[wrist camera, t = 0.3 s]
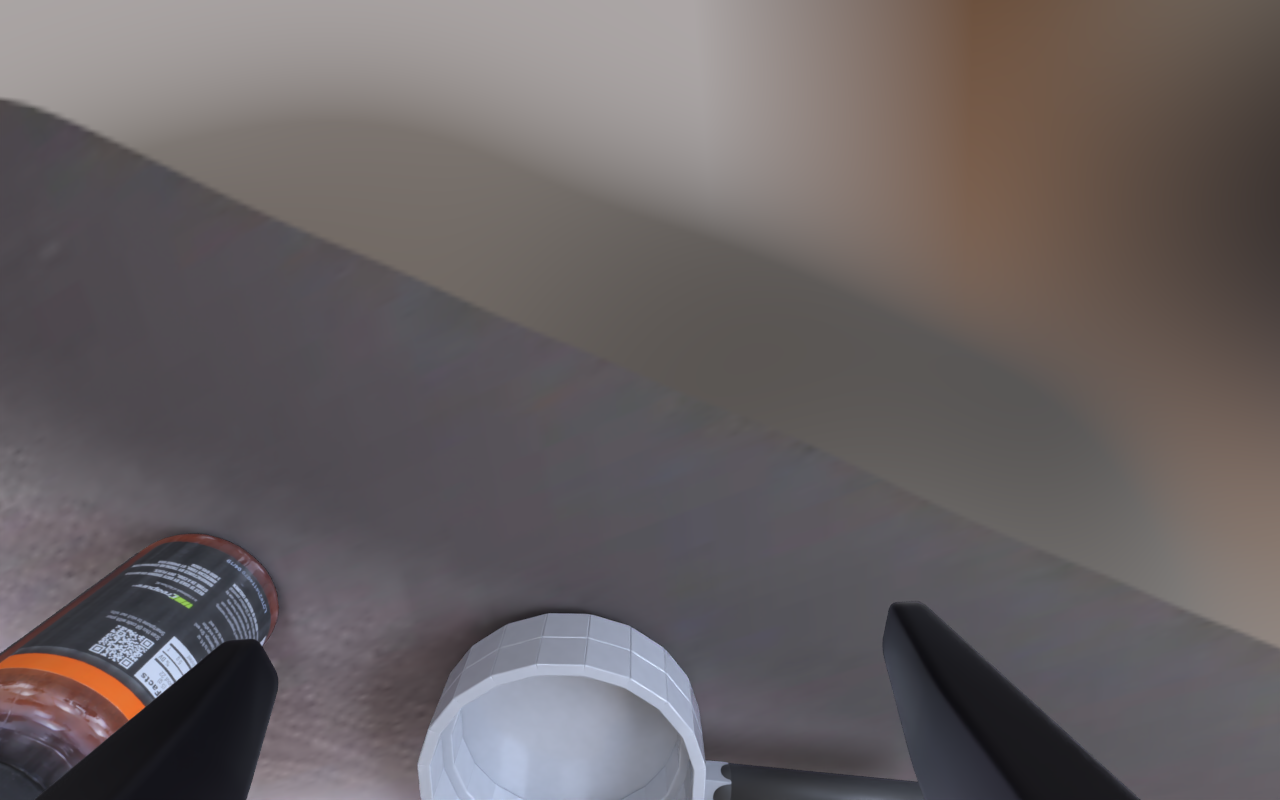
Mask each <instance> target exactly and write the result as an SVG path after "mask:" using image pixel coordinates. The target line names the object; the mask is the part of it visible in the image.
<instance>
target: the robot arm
mask: <svg viewBox="0 0 1280 800" xmlns="http://www.w3.org/2000/svg"><path fill="white" fill-rule="evenodd" d="M883 654H884V659H885V663H886V667H887V671H888V674H889V678H890V682H891V686H892V690H893V694H894V697H895V701H896V705H897V709H898V713H899V716H900V720H901V724H902V728H903V732H904V736H905V739H906V743H907V747H908V751H909V754H910V758H911V761H912V765H913V768H914V771H915V774H916V777H917V779H918V782H919V785H920V788H921V790H922V793H923V796H924V798H925V800H1140V799H1139V798H1138V797H1137V796H1136V795H1135V794H1134V793H1133V792H1131V791H1130V790H1129V789H1128V788H1127V787H1126V786H1125V785H1124V784H1123V783H1122V782H1120V781H1119V780H1118V779H1117V778H1116V777H1115V776H1114V775H1113V774H1112V773H1110V772H1109V771H1108V770H1107V769H1106V768H1105V767H1104V766H1103V765H1102V764H1101V763H1099V762H1098V761H1097V760H1096V759H1095V758H1094V757H1093V756H1092V755H1091V754H1090V753H1088V752H1087V751H1086V750H1085V749H1084V748H1083V747H1082V746H1081V745H1080V744H1078V743H1077V742H1076V741H1075V740H1074V739H1073V738H1072V737H1071V736H1070V735H1069V734H1067V733H1066V732H1065V731H1064V730H1063V729H1062V728H1061V727H1060V726H1059V725H1058V724H1056V723H1055V722H1054V721H1053V720H1052V719H1051V718H1050V717H1049V716H1048V715H1046V714H1045V713H1044V712H1043V711H1042V710H1041V709H1040V708H1039V707H1038V706H1037V705H1035V704H1034V703H1033V702H1032V701H1031V700H1030V699H1029V698H1028V697H1027V696H1026V695H1024V694H1023V693H1022V692H1021V691H1020V690H1019V689H1018V688H1017V687H1016V686H1014V685H1013V684H1012V683H1011V682H1010V681H1009V680H1008V679H1007V678H1006V677H1005V676H1003V675H1002V674H1001V673H1000V672H999V671H998V670H997V669H996V668H995V667H993V666H992V665H991V664H990V663H989V662H988V661H987V660H986V659H985V658H984V657H982V656H981V655H980V654H979V653H978V652H977V651H976V650H975V649H974V648H973V647H971V646H970V645H969V644H968V643H967V642H966V641H965V640H964V639H963V638H961V637H960V636H959V635H958V634H957V633H956V632H955V631H954V630H953V629H952V628H950V627H949V626H948V625H947V624H946V623H945V622H944V621H943V620H942V619H941V618H939V617H938V616H937V615H936V614H935V613H934V612H933V611H932V610H931V609H929V608H928V607H927V606H926V605H925V604H923V603H921V602H917V601H911V602H896V603H893V604H892V605H891V606H890V608H889V611H888V616H887V621H886V626H885V631H884V636H883ZM277 690H278V676H277V672H276V670H275V669H274V667H273V665H272V663H271V661H270V659H269V658H268V656H267V654H266V652H265V650H264V649H263V647H262V645H261V644H260V642H259V641H257V640H255V639H238V640H229V641H226V642H224V643H222V644H221V645H219V646H218V647H217V648H215V649H214V650H213V651H212V652H211V653H209V654H208V655H207V656H206V657H205V658H203V659H202V660H201V661H200V662H199V663H197V664H196V665H195V666H194V667H193V668H191V669H190V670H189V671H188V672H187V673H185V674H184V675H183V676H182V677H181V678H179V679H178V680H177V681H176V682H175V683H173V684H172V685H171V686H170V687H169V688H167V689H166V690H165V691H164V692H163V693H161V694H160V695H159V696H158V697H157V698H155V699H154V700H153V701H152V702H151V703H149V704H148V705H147V706H146V707H145V708H143V709H142V710H141V711H140V712H139V713H137V714H136V715H135V716H134V717H133V718H131V719H130V720H129V721H128V722H127V723H125V724H124V725H123V726H122V727H121V728H119V729H118V730H117V731H116V732H115V733H113V734H112V735H111V736H110V737H109V738H107V739H106V740H105V741H104V742H103V743H101V744H100V745H99V746H98V747H97V748H95V749H94V750H93V751H92V752H91V753H89V754H88V755H87V756H86V757H85V758H83V759H82V760H81V761H80V762H79V763H77V764H76V765H75V766H74V767H73V768H71V769H70V770H69V771H68V772H67V773H65V774H64V775H63V776H62V777H61V778H59V779H58V780H57V781H56V782H55V783H53V784H52V785H51V786H50V787H49V788H47V789H46V790H45V791H44V792H42V793H41V794H40V795H39V796H38V797H36V798H35V799H34V800H246V798H247V795H248V792H249V789H250V786H251V783H252V779H253V776H254V772H255V769H256V765H257V761H258V758H259V754H260V751H261V747H262V744H263V740H264V737H265V733H266V730H267V726H268V723H269V719H270V716H271V712H272V708H273V705H274V701H275V698H276V694H277Z"/></svg>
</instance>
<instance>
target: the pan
mask: <svg viewBox="0 0 1280 800" xmlns="http://www.w3.org/2000/svg"><path fill="white" fill-rule="evenodd" d="M689 759H690V762H691V771H692V792H691V800H704V798H705V782H706V762H705V754H704V745H703V737H702V729H701V720H700V712H699V707H698V704H697V701H696V699H695V696H694V693H693V690H692V687H691V684H690V681H689V679H688V677H687V675H686V674H685V673H684V672H683V670H682V669H681V668H680V667H679V665H678V664H677V663H676V662H675V660H674V659H673V658H672V657H671V656H670V654H669V653H668V652H667V651H666V650H665V649H664V648H663V647H662V646H660V645H659V644H657V643H656V642H654V641H653V640H651V639H650V638H648V637H646V636H645V635H643V634H642V633H640V632H639V631H637V630H636V629H634V628H633V627H630V626H629V625H626V624H622V623H619V622H616V621H612V620H609V619H605V618H602V617H599V616H595V615H592V614H591V615H590V614H566V613H548V614H543V615H539V616H535V617H531V618H528V619H524V620H520V621H516V622H513V623H509V624H507V625H505V626H503V627H501V628H500V629H498V630H497V631H495V632H493V633H492V634H490V635H489V636H487V637H485V638H484V639H482V640H481V641H479V642H477V643H476V644H474V645H473V646H472V647H471V648H470V649H469V650H468V652H467V653H466V654H465V655H464V657H463V658H462V659H461V660H460V662H459V663H458V664H457V665H456V666H455V668H454V669H453V670H452V671H451V673H450V675H449V677H448V680H447V682H446V685H445V687H444V690H443V692H442V695H441V697H440V700H439V702H438V705H437V708H436V710H435V713H434V715H433V718H432V720H431V723H430V725H429V728H428V731H427V734H426V737H425V740H424V743H423V746H422V750H421V753H420V756H419V759H418V764H417V767H418V778H419V788H420V798H421V800H685V789H684V784H685V778H686V773H687V768H688V762H689Z"/></svg>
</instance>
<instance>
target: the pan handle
mask: <svg viewBox="0 0 1280 800" xmlns="http://www.w3.org/2000/svg"><path fill="white" fill-rule="evenodd" d="M705 762H706V782H705V798H704V800H925V798H924V796H923V793H922V790H921V788H920V785H919V782H914V781H904V780H894V779H884V778H874V777H864V776H854V775H844V774H833V773H823V772H813V771H803V770H793V769H783V768H773V767H763V766H752V765H742V764H732V763H728V762H720V761H710V760H705ZM684 789H685V800H691V792H692V771H691V762H690V759H689V762H688V768H687V773H686V778H685V784H684Z"/></svg>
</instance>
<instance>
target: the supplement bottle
mask: <svg viewBox="0 0 1280 800" xmlns="http://www.w3.org/2000/svg"><path fill="white" fill-rule="evenodd" d="M277 596H278V595H277V592H276V588H275V586H274V584H273V582H272V579H271V577H270V576H269V574H268V573H267V571H266V569H265V568H264V567H263V566H262V565H261V564H260V563H259V562H258V561H257V560H256V559H255V558H254V557H253V556H252V555H250V554H249V553H248V552H247V551H245V550H244V549H242V548H241V547H239V546H238V545H235V544H233V543H231V542H229V541H227V540H224V539H221V538H217V537H214V536H210V535H206V534H181V535H175V536H171V537H167V538H164V539H162V540H159V541H157V542H155V543H153V544H151V545H149V546H148V547H146V548H145V549H143V550H142V551H141V552H139V553H137V554H135V555H134V556H133V557H131V558H130V559H128V560H127V561H126V562H125V563H123V564H122V565H120V566H119V567H118V568H116V569H115V570H114V571H112V572H111V573H109V574H108V575H107V576H106V577H104V578H103V579H102V580H100V581H99V582H97V583H96V584H95V585H93V586H92V587H91V588H89V589H88V590H86V591H85V592H84V593H82V594H81V595H79V596H78V597H77V598H75V599H74V600H73V601H71V602H70V603H69V604H67V605H66V606H64V607H63V608H62V609H60V610H59V611H58V612H56V613H55V614H54V615H52V616H51V617H50V618H48V619H47V620H45V621H44V622H43V623H41V624H40V625H39V626H37V627H36V628H34V629H33V630H32V631H30V632H29V633H28V634H26V635H25V636H24V637H22V638H21V639H20V640H18V641H17V642H15V643H14V644H12V645H11V646H9V647H8V648H7V649H6V650H4V651H3V652H2V653H0V800H34V799H35V798H36V797H38V796H39V795H40V794H41V793H42V792H44V791H45V790H46V789H47V788H49V787H50V786H51V785H52V784H53V783H55V782H56V781H57V780H58V779H59V778H61V777H62V776H63V775H64V774H65V773H67V772H68V771H69V770H70V769H71V768H73V767H74V766H75V765H76V764H77V763H79V762H80V761H81V760H82V759H83V758H85V757H86V756H87V755H88V754H89V753H91V752H92V751H93V750H94V749H95V748H97V747H98V746H99V745H100V744H101V743H103V742H104V741H105V740H106V739H107V738H109V737H110V736H111V735H112V734H113V733H115V732H116V731H117V730H118V729H119V728H121V727H122V726H123V725H124V724H125V723H127V722H128V721H129V720H130V719H131V718H133V717H134V716H135V715H136V714H137V713H139V712H140V711H141V710H142V709H143V708H145V707H146V706H147V705H148V704H149V703H151V702H152V701H153V700H154V699H155V698H157V697H158V696H159V695H160V694H161V693H163V692H164V691H165V690H166V689H167V688H169V687H170V686H171V685H172V684H173V683H175V682H176V681H177V680H178V679H179V678H181V677H182V676H183V675H184V674H185V673H187V672H188V671H189V670H190V669H191V668H193V667H194V666H195V665H196V664H197V663H199V662H200V661H201V660H202V659H203V658H205V657H206V656H207V655H208V654H209V653H211V652H212V651H213V650H214V649H215V648H217V647H218V646H219V645H221V644H222V643H224V642H226V641H229V640H238V639H255V640H257V641H259V642H260V644H261V645H262V646H263V644H264V643H265V642H266V641H267V639H268V638H269V637H270V635H271V633H272V631H273V629H274V627H275V624H276V621H277V618H278V609H279V605H278V599H277Z"/></svg>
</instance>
